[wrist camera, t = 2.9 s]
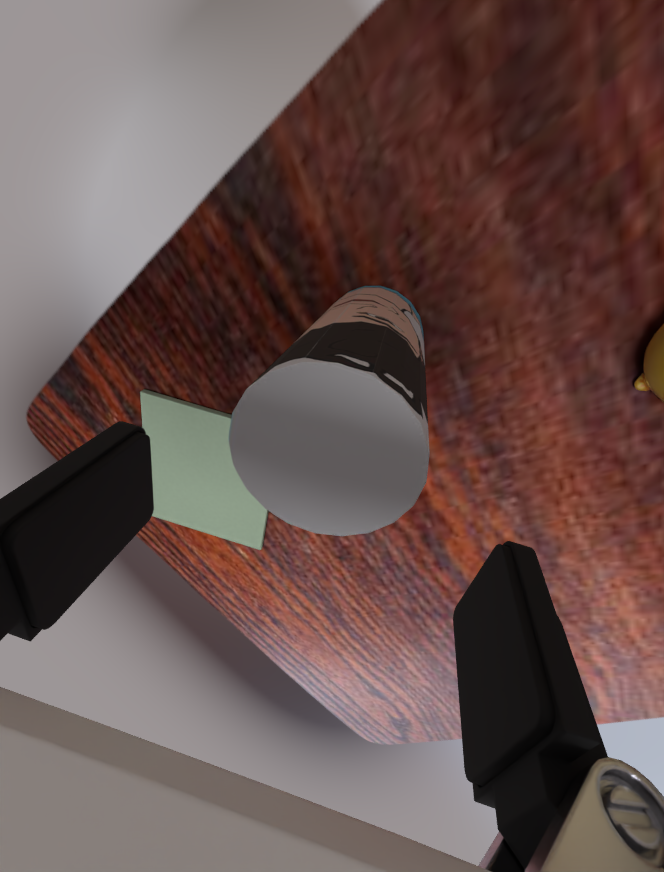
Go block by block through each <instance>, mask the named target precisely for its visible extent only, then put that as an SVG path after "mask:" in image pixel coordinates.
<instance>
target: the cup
mask: <svg viewBox="0 0 664 872" xmlns="http://www.w3.org/2000/svg"><path fill="white" fill-rule="evenodd" d="M228 441H229V446H230V451H231V456H232V461H233V466H234V467H235V469H236V471H237V473H238V475H239V477H240V478H241V480H242V482H243V484H244V486H245V488H246V489H247V490H248V491H249V492H250V493H251V494H252V495H253V496H254V497H255V498H256V500H257V501H258V502H259V503H260V504H261V505H262V506H263V507H264V508H265V509H267V510H268V511H270V512H271V513H273V514H274V515H276V516H278V517H279V518H281V519H282V520H284V521H285V522H287V523H289V524H291V525H294V526H297V527H300V528H302V529H305V530H308V531H311V532H314V533H320V534H328V535H337V536H347V535H355V534H363V533H370V532H372V531H375V530H377V529H379V528H382V527H384V526H386V525H389V524H391V523H394V522H395V521H396V520H397V519H398V518H399V517H401V516H402V515H403V514H404V513H405V512H406V511H408V510H409V509H410V508H411V507H412V506H413V505H414V504H415V502H416V500H417V498H418V496H419V494H420V493H421V491H422V489H423V487H424V485H425V483H426V480H427V471H428V461H429V437H428V417H427V396H426V375H425V355H424V334H423V328H422V324H421V320H420V316H419V314H418V313H417V311H416V309H415V308H414V306H413V305H412V303H411V302H410V301H409V300H408V299H407V298H405V297H404V296H403V295H401V294H400V293H399V292H398V291H395V290H392V289H389V288H386V287H383V286H363V287H360V288H357V289H355V290H352V291H349V292H348V293H346V294H345V295H344V296H343V297H341V298H340V299H339V300H338V301H336V302H335V303H334V304H333V305H332V306H331V307H330V308H329V309H328V310H327V311H326V312H325V313H324V314H323V315H322V316H321V317H320V318H319V319H318V320H317V321H316V322H315V323H314V324H313V325H312V326H311V327H310V328H309V329H308V330H307V331H306V332H305V333H304V334H303V335H302V336H300V337H299V338H298V339H297V340H296V341H295V342H294V343H293V344H292V345H291V346H290V347H289V348H288V349H287V350H286V351H285V352H284V353H283V354H282V355H281V356H280V357H279V358H278V359H277V360H276V361H275V362H274V363H273V364H272V365H271V366H270V367H269V368H268V369H267V370H266V371H265V372H264V373H263V374H262V375H261V376H260V377H259V378H258V379H257V380H256V381H255V382H254V383H252V384H251V385H250V386H249V387H248V388H247V389H246V391H245V392H244V394H243V396H242V398H241V399H240V401H239V403H238V404H237V406H236V408H235V409H234V411H233V413H232V417H231V424H230V430H229V437H228Z"/></svg>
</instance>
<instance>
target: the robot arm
mask: <svg viewBox="0 0 664 872" xmlns="http://www.w3.org/2000/svg"><path fill="white" fill-rule="evenodd" d="M153 511H154V500H153V481H152V463H151V444H150V437H149V436H148V435H146V432H145V430H144V428H142V427H139V426H136V425H133V424H129V423H126V422H123V421H122V422H118V423H116V424H114V425H112V426H111V427H109V428H108V429H106V430H105V431H103V432H102V433H100V434H99V435H97V436H96V437H94V438H93V439H91V440H90V441H88V442H87V443H85V444H83V445H82V446H80V447H79V448H77V449H76V450H74V451H73V452H71V453H70V454H68V455H67V456H65V457H64V458H62V459H61V460H59V461H58V462H56V463H54V464H53V465H51V466H50V467H49V468H47V469H45V470H44V471H42V472H41V473H39V474H38V475H36V476H35V477H33V478H32V479H30V480H29V481H27V482H25V483H24V484H22V485H21V486H19V487H18V488H17V489H15V490H13V491H12V492H10V493H9V494H7V495H6V496H4V497H3V498H1V499H0V640H1V639H2V638H3V637H4V636H5V635H6V634H7V633H9V634H12V635H14V636H17V637H20V638H22V639H25V640H28V641H31V640H32V639H33V638H34V637H35V636H36V635H37V634H38V633H39V632H40V631H41V630H42V629H44V630H45V629H48V628H49V627H51V626H52V625H53V624H54V623H55V622H56V621H57V620H58V619H59V618H60V617H61V616H62V615H63V613H65V611H66V610H67V609H68V608H69V607H70V606H71V605H72V604H73V603H74V602H75V600H76V599H77V598H78V597H79V596H80V595H81V594H82V593H83V592H84V591H85V590H86V589H87V587H88V586H89V585H90V584H91V583H92V582H93V581H94V580H95V579H96V578H97V576H99V574H100V573H101V572H102V571H103V570H104V569H105V568H106V567H107V566H108V565H109V564H110V562H111V561H112V560H113V559H114V558H115V557H116V556H117V555H118V554H119V553H120V552H121V550H122V549H123V548H124V547H125V546H126V545H127V544H128V543H129V542H130V541H131V540H132V538H133V537H134V536H135V535H136V534H137V533H138V532H139V531H140V530H141V529H142V528H143V526H144V525H145V524H146V523H147V522H148V521H149V520H150V518H151V516H152V514H153ZM453 625H454V638H455V651H456V664H457V677H458V690H459V703H460V716H461V729H462V742H463V755H464V768H465V774H466V777H467V779H468V781H470V782H472V783H473V792H474V801H476V802H478V803H481V804H484V805H487V806H490V807H492V808H495V809H496V817H497V825H498V830H499V833H498V834H497V836H496V838H495V839H494V841H493V843H492V844H491V846H490V847H489V849H488V851H487V853H486V854H485V856H484V857H483V859H482V861H481V862H480V864H479V866H476V865H473V864H471V863H468V862H466V861H463V860H461V859H458V858H456V857H453V856H451V855H448V854H446V853H443V852H441V851H438V850H436V849H433V848H431V847H428V846H426V845H423V844H421V843H418V842H416V841H413V840H411V839H408V838H406V837H403V836H401V835H398V834H395V833H393V832H390V831H387V830H384V829H382V828H379V827H376V826H374V825H371V824H369V823H366V822H363V821H361V820H358V819H355V818H352V817H350V816H347V815H345V814H342V813H340V812H337V811H334V810H331V809H329V808H326V807H323V806H321V805H318V804H316V803H313V802H310V801H308V800H305V799H302V798H300V797H297V796H294V795H292V794H289V793H287V792H284V791H281V790H279V789H276V788H273V787H271V786H268V785H265V784H262V783H260V782H257V781H254V780H252V779H249V778H246V777H244V776H241V775H238V774H236V773H233V772H230V771H228V770H225V769H222V768H219V767H217V766H214V765H211V764H209V763H206V762H203V761H201V760H198V759H195V758H193V757H190V756H187V755H184V754H182V753H179V752H176V751H173V750H171V749H168V748H166V747H163V746H160V745H157V744H155V743H152V742H149V741H147V740H144V739H141V738H138V737H136V736H133V735H130V734H128V733H125V732H122V731H120V730H117V729H114V728H111V727H108V726H106V725H103V724H100V723H98V722H95V721H92V720H89V719H87V718H84V717H81V716H78V715H76V714H73V713H70V712H68V711H65V710H62V709H59V708H57V707H54V706H51V705H48V704H45V703H43V702H40V701H37V700H35V699H32V698H29V697H26V696H24V695H21V694H18V693H15V692H13V691H10V690H7V689H5V688H1V687H0V872H664V796H662V794H661V793H660V792H659V791H658V789H657V788H656V787H655V786H654V785H653V784H652V783H651V782H650V781H649V780H648V779H647V778H646V777H645V776H644V775H642V774H641V773H640V772H639V771H637V770H636V769H635V768H633V767H632V766H630V765H628V764H626V763H624V762H623V761H621V760H617V759H613V758H609V757H608V756H607V753H606V750H605V747H604V744H603V741H602V738H601V736H600V733H599V730H598V727H597V724H596V721H595V718H594V715H593V712H592V710H591V707H590V704H589V701H588V698H587V695H586V692H585V689H584V686H583V684H582V681H581V678H580V675H579V672H578V669H577V666H576V663H575V660H574V658H573V655H572V652H571V649H570V646H569V643H568V640H567V637H566V634H565V632H564V629H563V626H562V623H561V621H560V619H559V617H558V616H557V614H556V611H555V609H554V606H553V603H552V600H551V597H550V594H549V591H548V588H547V585H546V582H545V579H544V576H543V573H542V570H541V567H540V565H539V562H538V559H537V556H536V553H535V551H534V550H533V549H532V548H530V547H527V546H524V545H520V544H517V543H514V542H511V541H507V542H505V543H504V544H503V545H501V544H498V545H496V546H495V548H494V549H493V551H492V552H491V554H490V555H489V557H488V558H487V560H486V561H485V563H484V565H483V566H482V568H481V569H480V571H479V572H478V574H477V575H476V577H475V578H474V580H473V581H472V583H471V584H470V586H469V587H468V589H467V591H466V592H465V594H464V595H463V597H462V598H461V600H460V601H459V603H458V604H457V606H456V608H455V611H454V616H453Z"/></svg>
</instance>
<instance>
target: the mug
mask: <svg viewBox="0 0 664 872" xmlns="http://www.w3.org/2000/svg"><path fill="white" fill-rule="evenodd" d="M634 386H635V388H636V389H637V390H641V391H652V392H653V393H654V394H655V395H656V396H657V397H658V398H659V399H660V400H662V401H663V402H664V323H663V324H662V325H661V327H660V328H659V329H658V330H657V331H656V333H655V334H654V335H653V337H652V338H651V340H650V342H649V343H648V345H647V348H646V351H645V355H644V361H643V373H642V374H641V375H640V376H639V377H638V378H637V379H636V381H635V383H634Z"/></svg>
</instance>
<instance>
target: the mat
mask: <svg viewBox="0 0 664 872" xmlns="http://www.w3.org/2000/svg"><path fill="white" fill-rule="evenodd" d="M140 397H141V412H142V427H143V428H144V430H145V432H146V435H148V436H149V437H150V444H151V463H152V481H153V500H154V511H153V514H152V516H154V517H157V518H160V519H164V520H167V521H170V522H173V523H176V524H179V525H182V526H186V527H189V528H192V529H195V530H198V531H201V532H205V533H208V534H211V535H214V536H217V537H220V538H224V539H227V540H230V541H233V542H236V543H239V544H243V545H246V546H249V547H252V548H255V549H258V550H261V549H262V546H263V541H264V535H265V529H266V523H267V517H268V510H267V509H265V508H264V507H263V506H262V505H261V504H260V503H259V502H258V501H257V500H256V498H255V497H254V496H253V495H252V494H251V493H250V492H249V491H248V490H247V489H246V488H245V486H244V484H243V482H242V480H241V478H240V477H239V475H238V473H237V471H236V469H235V467H234V466H233V461H232V456H231V451H230V446H229V441H228V437H229V430H230V424H231V417H232V415H230V414H227V413H223V412H220V411H216V410H213V409H210V408H206V407H203V406H200V405H196V404H193V403H189V402H186V401H183V400H179V399H176V398H172V397H169V396H166V395H162V394H159V393H155V392H152V391H149V390H145V389H144V390H142V391H141V392H140Z"/></svg>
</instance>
